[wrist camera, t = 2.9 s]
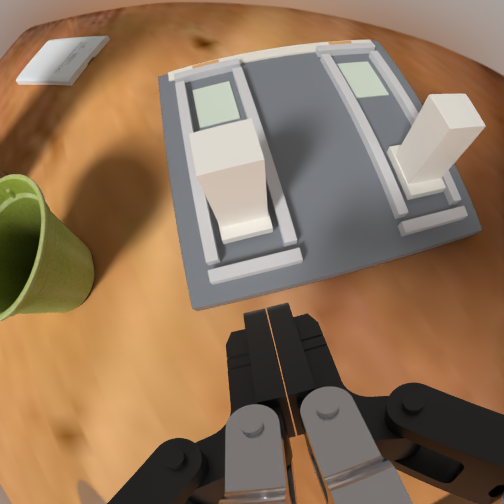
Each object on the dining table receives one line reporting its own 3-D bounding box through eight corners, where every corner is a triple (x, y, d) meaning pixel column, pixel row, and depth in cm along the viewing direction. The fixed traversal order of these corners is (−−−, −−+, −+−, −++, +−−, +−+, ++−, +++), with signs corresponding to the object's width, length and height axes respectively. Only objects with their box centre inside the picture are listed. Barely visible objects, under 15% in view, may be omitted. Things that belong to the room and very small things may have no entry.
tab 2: (407, 200, 21) (455, 141, 13) (386, 152, 22) (420, 84, 14) (441, 192, 21) (493, 137, 13) (420, 146, 22) (460, 83, 14)
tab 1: (223, 244, 21) (197, 192, 13) (211, 189, 22) (184, 121, 15) (272, 232, 21) (271, 174, 13) (257, 177, 22) (249, 105, 15)
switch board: (197, 310, 22) (188, 307, 19) (162, 87, 27) (155, 71, 25) (473, 235, 22) (487, 226, 19) (375, 50, 27) (379, 35, 25)
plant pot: (13, 301, 23) (-58, 282, 14) (54, 206, 25) (-7, 161, 17) (85, 354, 21) (7, 353, 13) (133, 242, 23) (71, 194, 15)
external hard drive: (54, 45, 33) (112, 42, 31) (20, 86, 32) (73, 88, 30) (49, 39, 32) (107, 33, 30) (14, 80, 30) (67, 80, 28)
